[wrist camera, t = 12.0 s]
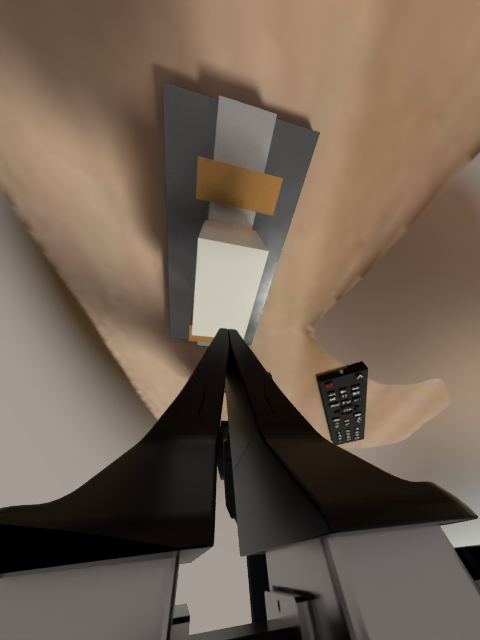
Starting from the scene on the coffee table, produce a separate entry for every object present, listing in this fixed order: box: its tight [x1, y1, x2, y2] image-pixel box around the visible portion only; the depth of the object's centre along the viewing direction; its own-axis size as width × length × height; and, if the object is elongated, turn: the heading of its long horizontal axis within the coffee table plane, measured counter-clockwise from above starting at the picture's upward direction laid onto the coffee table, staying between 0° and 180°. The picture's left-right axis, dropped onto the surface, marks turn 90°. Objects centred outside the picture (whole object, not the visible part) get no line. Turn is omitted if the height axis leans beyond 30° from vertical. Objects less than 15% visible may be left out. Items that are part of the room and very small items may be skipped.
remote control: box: [317, 361, 368, 445], centre depth 39 cm, size 8×32×2 cm, turn 22°
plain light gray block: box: [192, 220, 269, 340], centre depth 15 cm, size 7×4×6 cm, turn 169°
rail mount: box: [163, 82, 320, 346], centre depth 16 cm, size 20×10×4 cm, turn 169°
